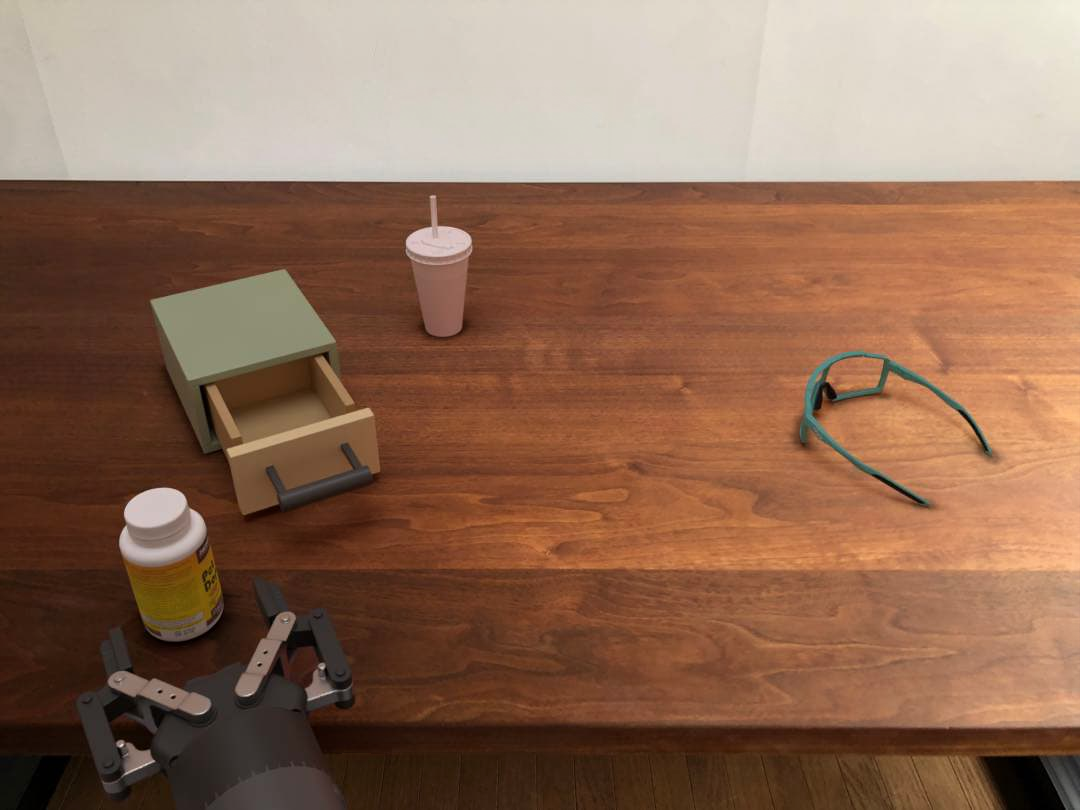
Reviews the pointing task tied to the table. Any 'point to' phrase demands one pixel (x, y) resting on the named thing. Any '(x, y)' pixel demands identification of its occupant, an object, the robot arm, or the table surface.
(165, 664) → the table surface
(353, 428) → the drawer
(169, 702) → the robot arm
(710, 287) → the table surface
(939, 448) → the table surface
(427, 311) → the smoothie
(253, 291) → the cabinet
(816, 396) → the sunglasses
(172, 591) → the supplement bottle
